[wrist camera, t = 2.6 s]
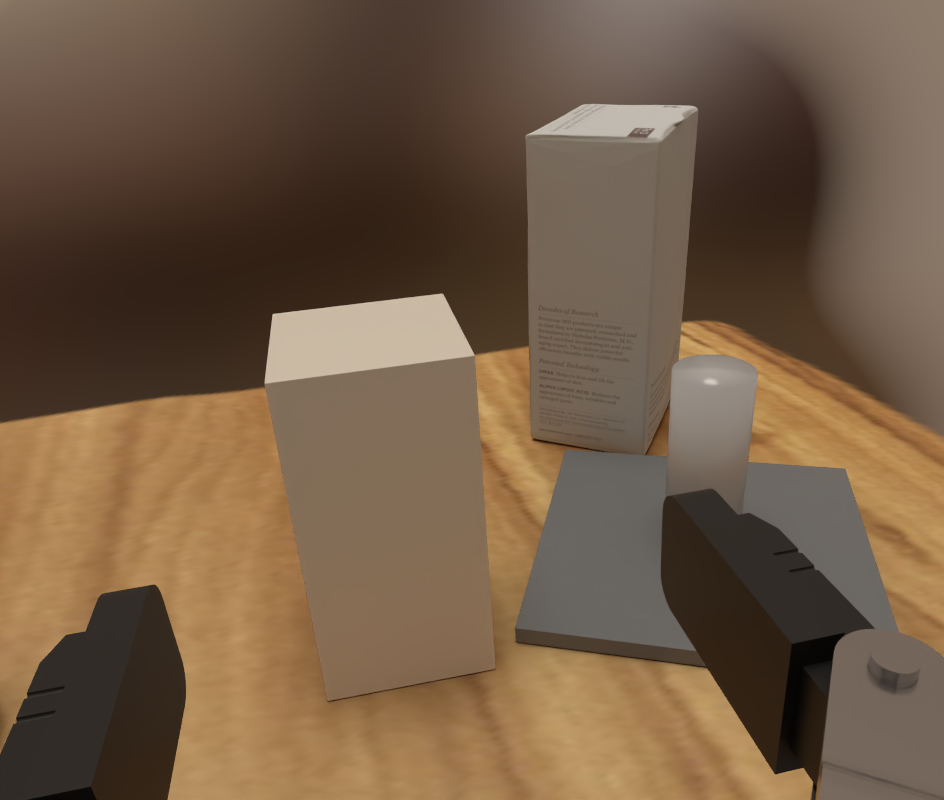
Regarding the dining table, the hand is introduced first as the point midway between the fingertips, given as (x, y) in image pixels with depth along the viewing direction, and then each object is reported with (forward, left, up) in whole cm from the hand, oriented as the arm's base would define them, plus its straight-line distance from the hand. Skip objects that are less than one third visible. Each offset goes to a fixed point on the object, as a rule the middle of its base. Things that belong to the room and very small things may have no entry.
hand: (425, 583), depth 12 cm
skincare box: (+1, +27, -11) cm, 29 cm away
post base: (+5, +16, -11) cm, 20 cm away
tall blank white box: (-5, +10, -11) cm, 16 cm away
